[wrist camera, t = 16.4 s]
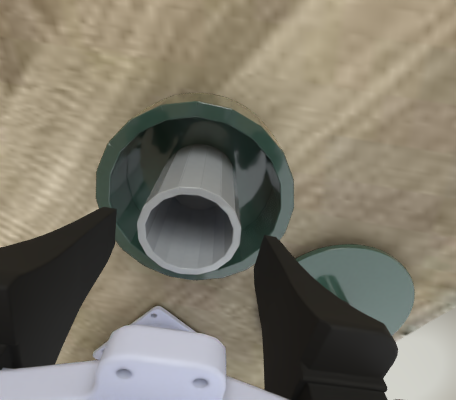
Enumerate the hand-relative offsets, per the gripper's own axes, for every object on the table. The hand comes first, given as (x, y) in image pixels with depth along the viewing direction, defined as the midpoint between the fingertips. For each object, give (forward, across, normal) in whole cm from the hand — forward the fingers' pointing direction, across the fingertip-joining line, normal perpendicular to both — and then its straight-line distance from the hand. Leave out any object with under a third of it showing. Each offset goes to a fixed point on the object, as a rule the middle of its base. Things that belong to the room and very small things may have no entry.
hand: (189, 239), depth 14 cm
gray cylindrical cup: (+7, 0, 0) cm, 7 cm away
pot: (+8, 0, 0) cm, 8 cm away
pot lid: (+7, -14, +9) cm, 18 cm away
